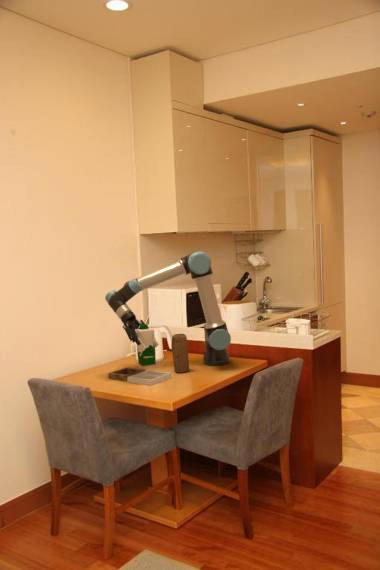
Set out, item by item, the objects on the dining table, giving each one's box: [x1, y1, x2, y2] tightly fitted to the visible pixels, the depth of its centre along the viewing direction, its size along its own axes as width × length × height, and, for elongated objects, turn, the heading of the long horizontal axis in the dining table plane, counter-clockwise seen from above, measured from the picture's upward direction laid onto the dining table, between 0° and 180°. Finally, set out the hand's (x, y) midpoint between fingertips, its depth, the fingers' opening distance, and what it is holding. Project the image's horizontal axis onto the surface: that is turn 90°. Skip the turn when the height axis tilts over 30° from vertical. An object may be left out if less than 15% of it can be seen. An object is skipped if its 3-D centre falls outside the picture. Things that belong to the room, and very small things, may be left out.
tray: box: [126, 369, 173, 386], centre depth 279 cm, size 16×16×3 cm
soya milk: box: [135, 323, 157, 367], centre depth 277 cm, size 9×9×20 cm
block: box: [171, 333, 190, 373], centre depth 293 cm, size 11×8×20 cm
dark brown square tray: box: [108, 366, 147, 382], centre depth 288 cm, size 14×14×3 cm
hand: (151, 347), depth 275 cm, fingers closed on soya milk, 9 cm apart
